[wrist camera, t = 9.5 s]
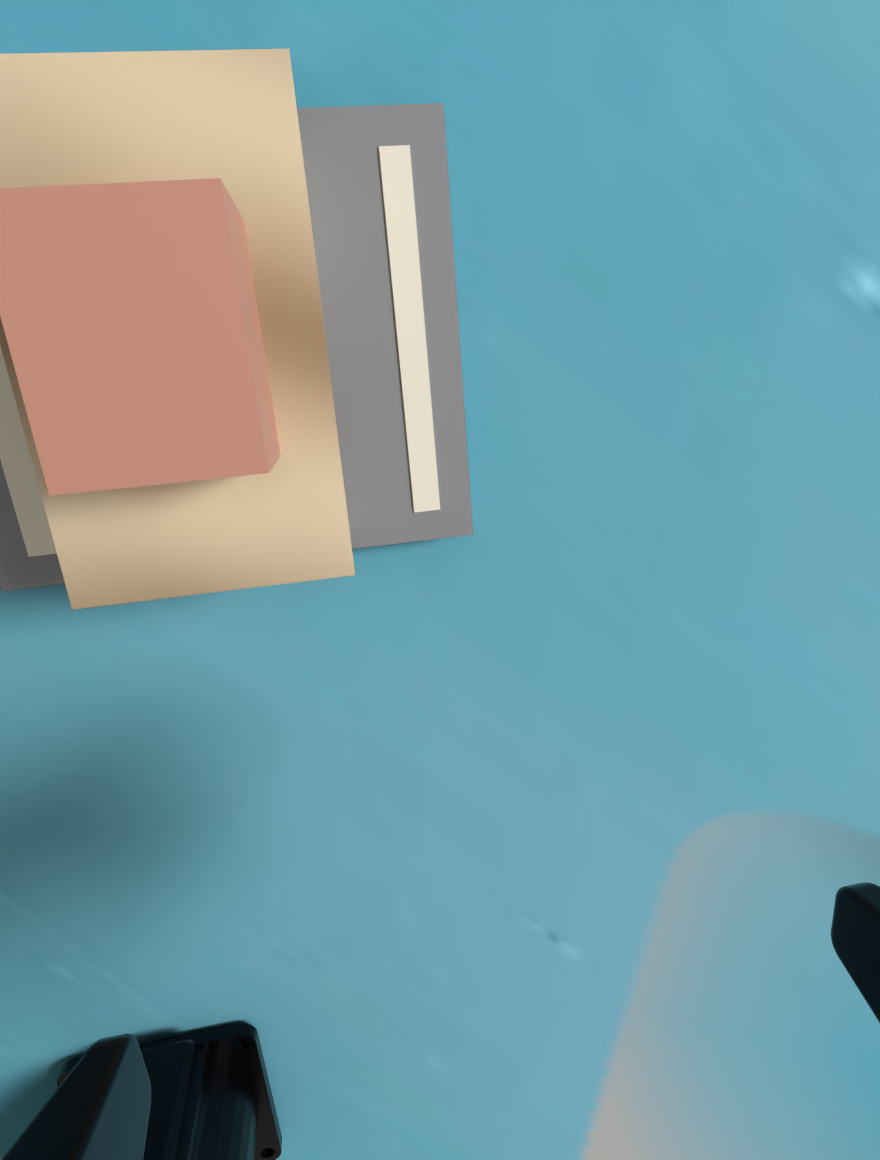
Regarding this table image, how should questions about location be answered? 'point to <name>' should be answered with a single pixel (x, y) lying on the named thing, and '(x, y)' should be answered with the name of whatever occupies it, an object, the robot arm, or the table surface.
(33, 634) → the table surface
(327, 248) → the dock
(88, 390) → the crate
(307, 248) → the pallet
